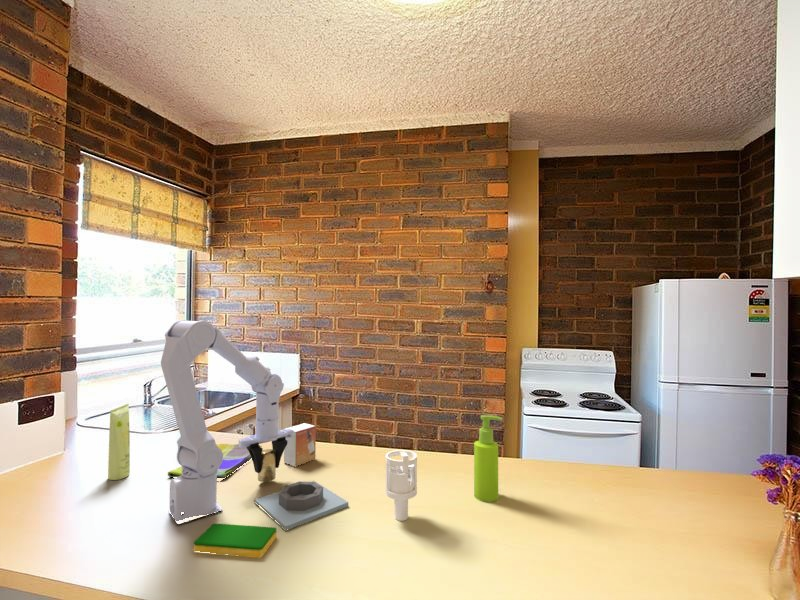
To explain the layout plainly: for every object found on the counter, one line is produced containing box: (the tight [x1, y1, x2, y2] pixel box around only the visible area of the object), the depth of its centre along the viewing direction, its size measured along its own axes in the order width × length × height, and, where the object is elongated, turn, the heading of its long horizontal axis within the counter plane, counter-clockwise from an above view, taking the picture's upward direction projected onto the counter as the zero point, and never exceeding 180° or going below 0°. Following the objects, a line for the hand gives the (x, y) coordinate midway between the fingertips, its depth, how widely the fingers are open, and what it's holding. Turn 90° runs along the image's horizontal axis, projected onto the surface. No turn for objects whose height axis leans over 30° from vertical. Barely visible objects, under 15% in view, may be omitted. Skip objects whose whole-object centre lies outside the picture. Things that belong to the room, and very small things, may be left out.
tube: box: [107, 402, 131, 481], centre depth 113 cm, size 6×5×20 cm
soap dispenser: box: [473, 414, 503, 503], centre depth 102 cm, size 6×7×20 cm
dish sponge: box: [193, 523, 277, 558], centre depth 81 cm, size 7×14×2 cm, turn 84°
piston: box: [257, 448, 277, 483], centre depth 109 cm, size 4×4×7 cm
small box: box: [283, 422, 317, 467], centre depth 125 cm, size 8×6×10 cm
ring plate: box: [254, 480, 349, 531], centre depth 97 cm, size 16×16×4 cm
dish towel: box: [167, 443, 264, 478], centre depth 123 cm, size 18×24×3 cm
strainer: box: [385, 449, 418, 522], centre depth 92 cm, size 7×7×15 cm
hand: (266, 469), depth 109 cm, fingers closed on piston, 4 cm apart
